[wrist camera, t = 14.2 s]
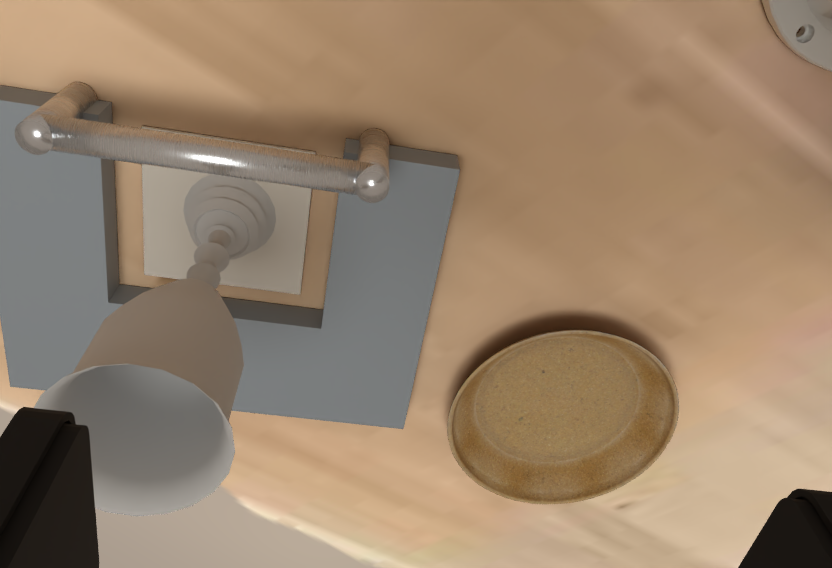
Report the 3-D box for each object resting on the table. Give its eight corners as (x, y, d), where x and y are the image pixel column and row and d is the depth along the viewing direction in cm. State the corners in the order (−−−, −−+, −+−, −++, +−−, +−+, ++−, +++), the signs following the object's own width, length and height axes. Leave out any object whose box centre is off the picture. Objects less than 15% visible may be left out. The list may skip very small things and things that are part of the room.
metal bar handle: (391, 130, 38) (391, 173, 34) (386, 158, 39) (386, 205, 34) (63, 79, 37) (12, 117, 32) (65, 110, 37) (16, 151, 32)
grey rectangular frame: (457, 155, 39) (460, 169, 38) (402, 408, 48) (403, 429, 47) (-13, 83, 37) (-32, 95, 35) (24, 365, 46) (10, 386, 44)
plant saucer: (550, 506, 54) (557, 535, 52) (399, 410, 49) (400, 437, 47) (710, 387, 49) (726, 414, 47) (561, 264, 43) (570, 287, 41)
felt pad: (315, 151, 39) (315, 152, 39) (300, 292, 44) (300, 294, 43) (142, 125, 38) (141, 126, 38) (145, 273, 42) (144, 274, 42)
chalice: (240, 291, 43) (157, 542, 28) (140, 221, 41) (-12, 455, 25) (319, 209, 40) (277, 436, 25) (218, 128, 38) (101, 326, 23)
